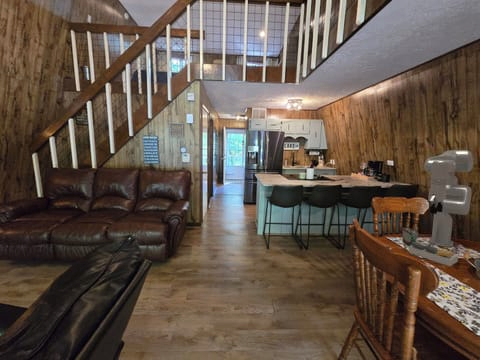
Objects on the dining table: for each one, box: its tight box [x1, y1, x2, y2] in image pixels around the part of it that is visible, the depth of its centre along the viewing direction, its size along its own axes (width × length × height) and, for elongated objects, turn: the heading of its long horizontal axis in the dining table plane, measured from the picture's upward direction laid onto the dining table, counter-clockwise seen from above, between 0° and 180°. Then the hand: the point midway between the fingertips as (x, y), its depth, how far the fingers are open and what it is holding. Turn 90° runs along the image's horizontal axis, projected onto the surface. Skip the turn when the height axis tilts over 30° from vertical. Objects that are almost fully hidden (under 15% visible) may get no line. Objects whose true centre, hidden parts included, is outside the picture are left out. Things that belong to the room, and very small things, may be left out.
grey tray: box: [408, 246, 459, 267], centre depth 134 cm, size 10×20×4 cm, turn 30°
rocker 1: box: [411, 241, 425, 249], centre depth 138 cm, size 4×6×2 cm
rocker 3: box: [437, 249, 454, 257], centre depth 126 cm, size 4×6×2 cm
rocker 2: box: [423, 244, 439, 254], centre depth 132 cm, size 4×6×2 cm
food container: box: [402, 227, 419, 247], centre depth 151 cm, size 12×6×10 cm, turn 168°
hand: (436, 212), depth 131 cm, fingers open, 6 cm apart
